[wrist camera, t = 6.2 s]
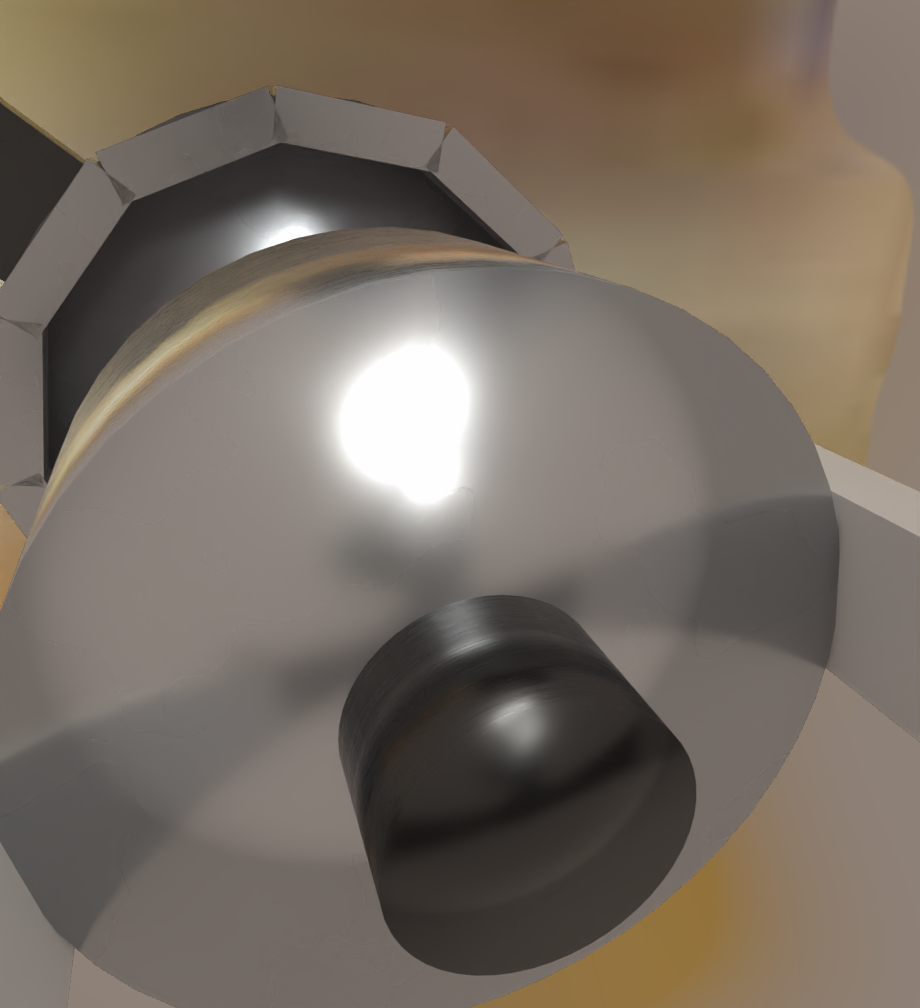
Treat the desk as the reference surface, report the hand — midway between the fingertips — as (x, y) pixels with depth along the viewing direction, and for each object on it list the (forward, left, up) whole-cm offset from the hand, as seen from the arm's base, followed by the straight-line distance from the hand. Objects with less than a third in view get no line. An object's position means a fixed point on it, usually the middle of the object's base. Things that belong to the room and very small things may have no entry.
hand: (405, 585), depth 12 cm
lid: (0, 0, -1) cm, 1 cm away
